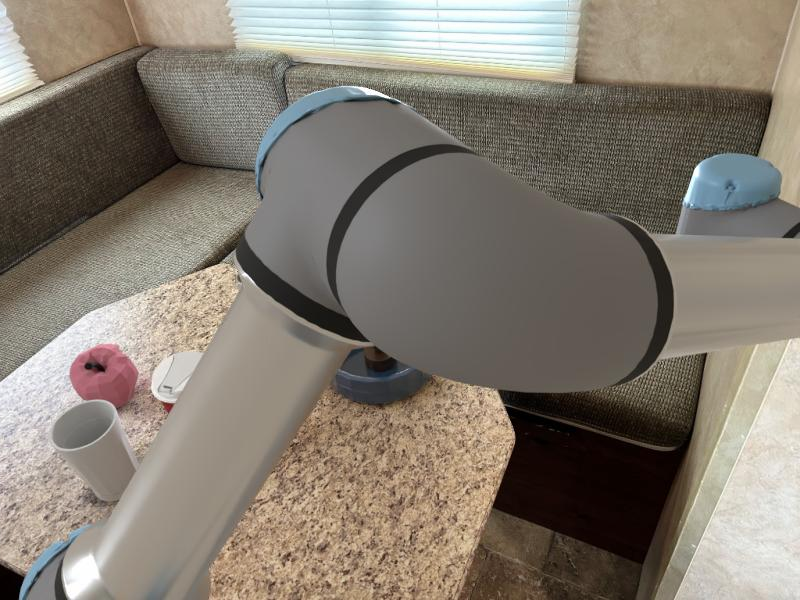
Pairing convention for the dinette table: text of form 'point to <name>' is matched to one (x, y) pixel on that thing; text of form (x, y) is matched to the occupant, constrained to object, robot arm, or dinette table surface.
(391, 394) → the bowl
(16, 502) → the dinette table surface
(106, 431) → the cup
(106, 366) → the apple
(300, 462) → the dinette table surface
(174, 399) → the coffee cup
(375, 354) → the wooden stamp handle
